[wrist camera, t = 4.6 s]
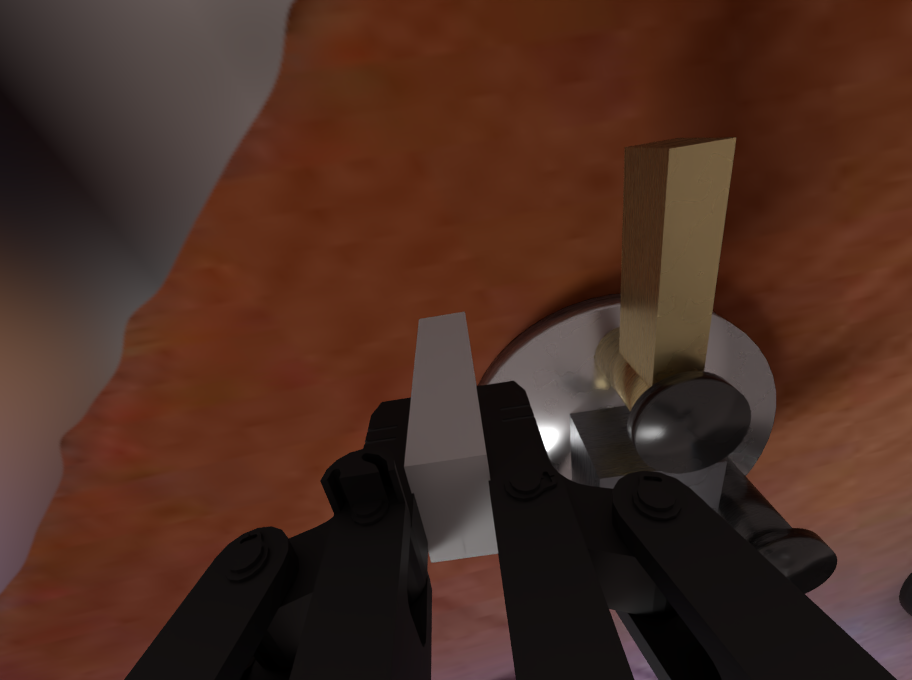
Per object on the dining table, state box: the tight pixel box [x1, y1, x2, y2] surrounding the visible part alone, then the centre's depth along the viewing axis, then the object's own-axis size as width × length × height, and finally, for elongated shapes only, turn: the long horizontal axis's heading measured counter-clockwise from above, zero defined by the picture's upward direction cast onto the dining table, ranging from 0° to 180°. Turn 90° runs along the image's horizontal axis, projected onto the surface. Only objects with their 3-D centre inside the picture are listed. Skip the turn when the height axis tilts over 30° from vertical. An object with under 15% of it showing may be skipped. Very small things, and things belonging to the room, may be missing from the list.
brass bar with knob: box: [595, 137, 751, 473], centre depth 20 cm, size 15×5×8 cm, turn 9°
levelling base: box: [478, 294, 837, 594], centre depth 27 cm, size 22×22×10 cm
